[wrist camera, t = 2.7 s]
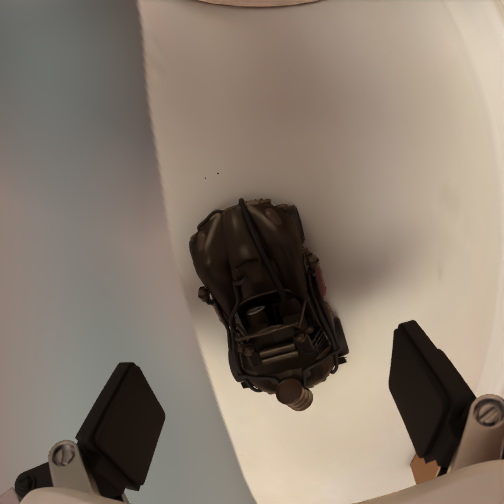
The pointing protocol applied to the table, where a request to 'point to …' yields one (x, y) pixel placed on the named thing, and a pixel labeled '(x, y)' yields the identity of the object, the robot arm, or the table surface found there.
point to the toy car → (268, 299)
